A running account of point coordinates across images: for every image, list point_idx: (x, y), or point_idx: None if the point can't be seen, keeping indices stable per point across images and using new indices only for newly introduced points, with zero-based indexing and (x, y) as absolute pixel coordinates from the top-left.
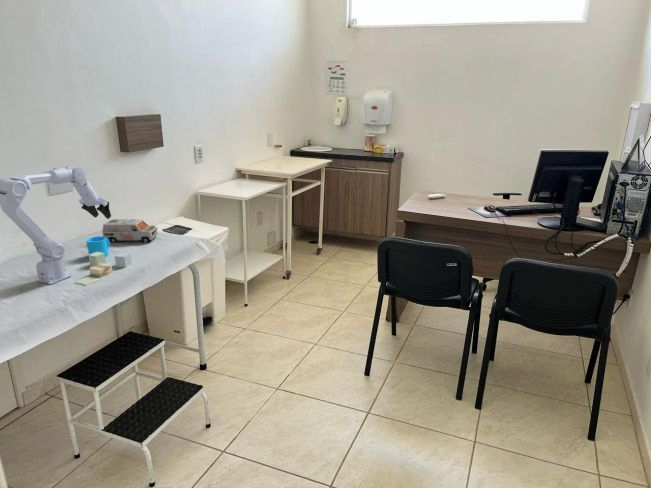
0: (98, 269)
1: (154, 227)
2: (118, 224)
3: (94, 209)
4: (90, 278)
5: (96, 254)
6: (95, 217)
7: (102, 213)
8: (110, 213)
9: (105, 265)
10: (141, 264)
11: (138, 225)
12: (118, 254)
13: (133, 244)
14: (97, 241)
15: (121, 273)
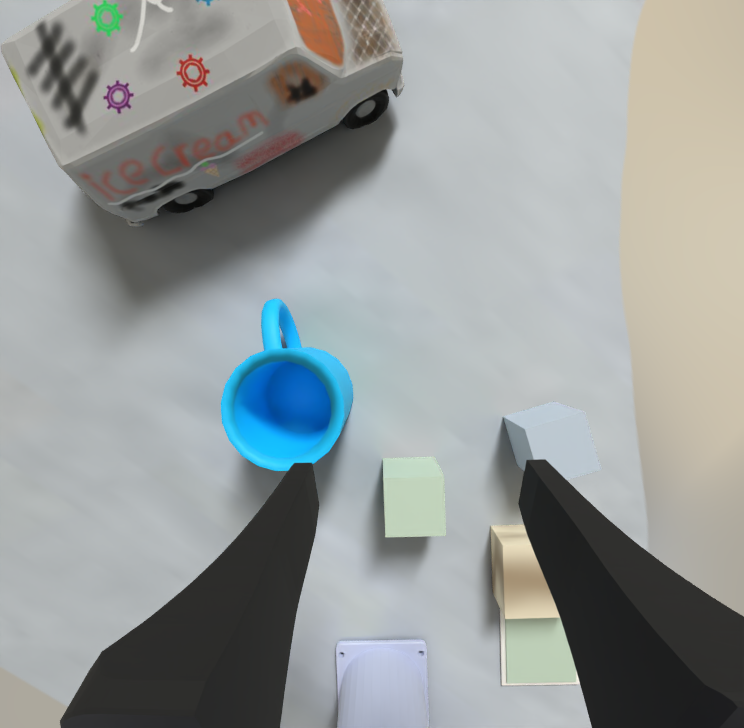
0: None
1: None
2: (171, 114)
3: (283, 553)
4: (538, 630)
5: (421, 511)
6: (315, 507)
7: (570, 631)
8: (572, 486)
9: None
10: (609, 387)
11: (306, 36)
12: (539, 457)
13: (325, 175)
14: (333, 440)
15: (610, 515)
